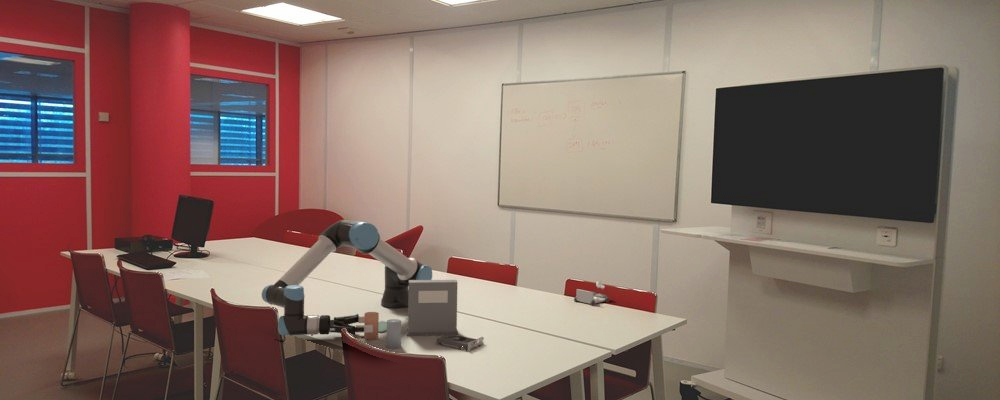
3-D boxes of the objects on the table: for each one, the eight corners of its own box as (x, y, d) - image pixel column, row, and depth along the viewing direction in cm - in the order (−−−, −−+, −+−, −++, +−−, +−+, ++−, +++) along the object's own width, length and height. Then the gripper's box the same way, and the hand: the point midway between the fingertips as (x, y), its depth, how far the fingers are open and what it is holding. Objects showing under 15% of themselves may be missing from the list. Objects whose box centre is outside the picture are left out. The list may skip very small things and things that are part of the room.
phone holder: (595, 279, 329) (613, 283, 320) (594, 297, 329) (612, 301, 321) (574, 283, 316) (592, 287, 308) (573, 302, 317) (591, 306, 309)
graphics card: (486, 336, 241) (469, 343, 231) (485, 345, 241) (469, 353, 231) (451, 330, 250) (433, 336, 239) (450, 339, 250) (433, 346, 239)
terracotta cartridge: (361, 338, 245) (361, 313, 245) (371, 335, 250) (372, 311, 249) (370, 340, 242) (371, 316, 241) (381, 337, 247) (381, 313, 246)
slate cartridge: (383, 346, 235) (383, 321, 234) (393, 343, 240) (394, 318, 239) (393, 349, 232) (393, 323, 231) (404, 346, 236) (404, 320, 236)
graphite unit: (406, 331, 257) (407, 279, 255) (456, 330, 260) (457, 279, 258) (406, 335, 250) (407, 283, 248) (457, 334, 253) (458, 282, 251)
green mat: (361, 327, 260) (361, 326, 260) (382, 322, 270) (382, 320, 270) (380, 333, 253) (380, 331, 253) (401, 327, 263) (401, 325, 263)
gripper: (323, 325, 255) (375, 324, 258) (314, 343, 230) (371, 342, 233) (323, 307, 254) (375, 307, 258) (314, 324, 230) (372, 323, 233)
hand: (373, 323), depth 246 cm, fingers open, 13 cm apart
